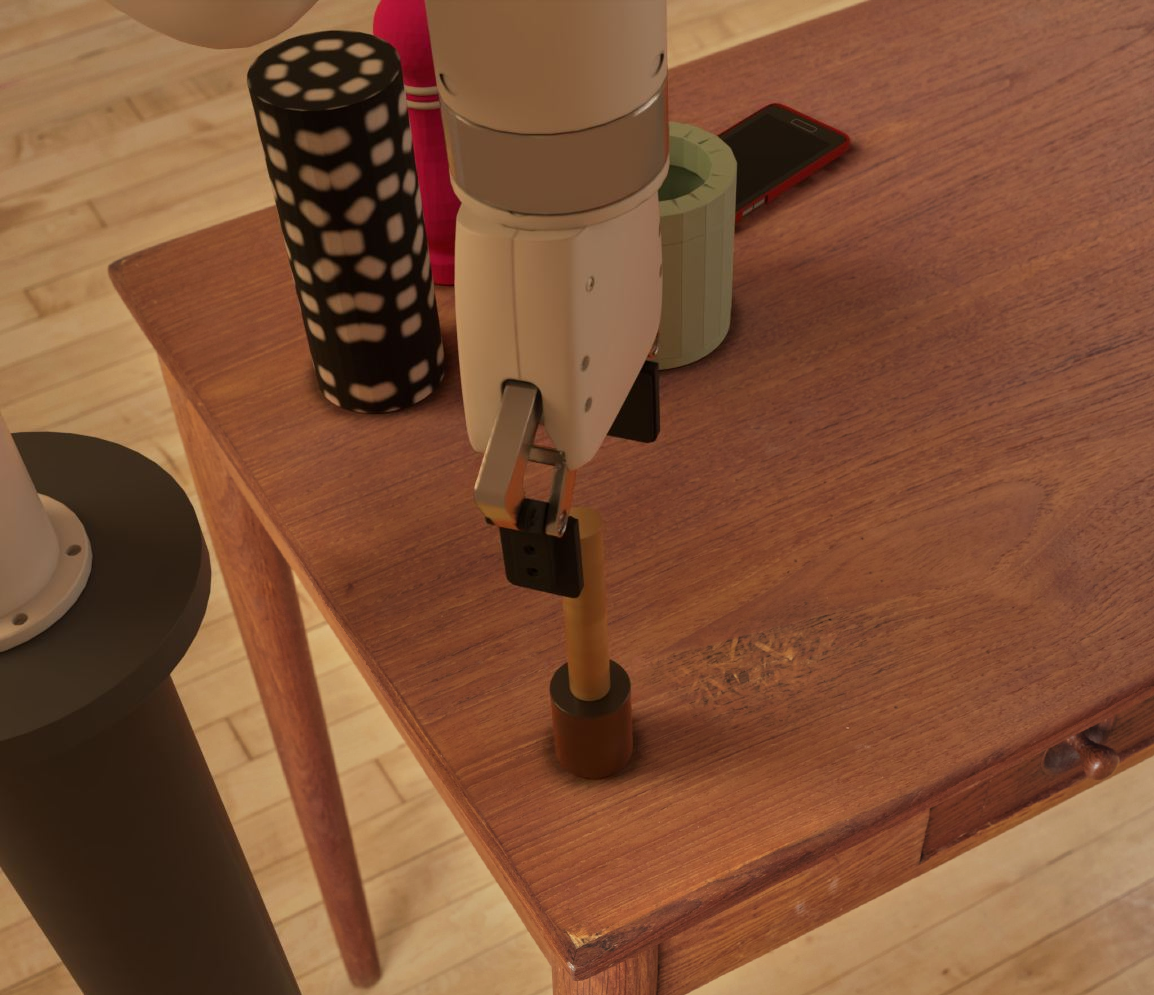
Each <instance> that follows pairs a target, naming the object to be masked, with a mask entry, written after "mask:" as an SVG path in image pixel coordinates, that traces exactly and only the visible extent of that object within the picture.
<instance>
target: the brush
mask: <svg viewBox="0 0 1154 995" xmlns="http://www.w3.org/2000/svg"><path fill="white" fill-rule="evenodd" d="M569 516H572V517H574V518H576V519H578V520H579V532H580V543H581V555H582V566H583V578H584V587H583V589H582V591H581V593H580V595H579V597H577V598H569V597H564V596H561V598H562V599H561V600H562V610H563V621H564V622H563V623H564V636H565V648H566V659H567V661H566V662H565V663H563V664H562V665H561V666H559V667H558V669H556V670H555V672H554V673H553V675H552V676H551V679H550V682H549V688H548V689H549V699H550V710H551V718H552V719H551V720H552V730H553V739H554V750H555V755H556V759H557V760H558V762H559V764H560V765H561V766H562V768H564V770H566V771H567V772H569V773H570V774H572V775H574V776H576V777H579V778H582V779H591V780H597V779H603V778H608V777H611V776H612V775H614V774H616V773H618V772H620V771H621V770H622V769H624V767H625V766H626V765H627V764H628V763H629V761H630V760H631V758H632V755H633V751H634V750H633V748H634V745H633V744H634V742H633V740H634V739H633V711H632V710H633V706H632V704H633V702H632V683H631V678H630V676H629V674H628V673H627V671H626V670H625V668H624V667H623V666H622V665H620V664H619V663H618V662H616V661H614V659H613V660H612V659H610V646H609V645H610V644H609V624H608V603H607V585H606V584H607V582H606V564H605V563H606V560H605V541H604V539H605V538H604V524H603V523H604V521H603V518H602V516H601V514H600V513H599V512H598V511H597V510H595V509H593V508H592V507H588V506H574V507H570V512H569Z"/></svg>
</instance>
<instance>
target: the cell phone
mask: <svg viewBox="0 0 1154 995" xmlns="http://www.w3.org/2000/svg"><path fill="white" fill-rule="evenodd" d="M716 136H718V137H719V138H720V139H721V140H722V141H723V142H724V143H726V144H727V145H728V146H729V147H730V148H731V150H732V152H733V155H734V157H735V159H736V162H737V178H736V203H735V224H737V223H738V222H740V221H741V220H742V219H743V218H745V217H746V216H748V215H749V214H751V213H752V212H754V211H755V210H756V209H759V208H760V207H762V205H765V204H768V203H770V202H772V201H773V200H774V199H776V198H778V197H779V196H781V195H782V194H785V192H787V191H788V190H790V189H791V188H793V187H795V186H796V185H798V184H799V183H801V182H802V181H804V180H806V179H807V178H808V177H810V176H812V175H814V174H815V173H816V172H818V171H819V170H821V169H822V168H824V167H825V166H827V165H829V164H830V163H832V162H833V161H835V160H836V159H838V158H839V157H841V156H842V155H843V154H845V153H846V152H847V151H848V150H849V149H850V145H851V138H850V136H849V135H848V134H847V133H845V132H843V131H842V130H839V129H838V128H836V127H833V126H831V125H829V124H827V123H824V122H822V121H820V120H818V119H816V118H814V117H812V116H809V115H807V114H805V113H803V112H800V111H799V110H796V109H795V108H792V107H790V106H788V105H786V104H782V103H779V102H772V103H769V104H767V105H765V106H763V107H761V108H759V109H758V110H756V111H755V112H753V113H751V114H750V115H748V116H746V117H745V118H743V119H742V120H739V121H738V122H736V123H735V124H733V125H732V126H730V127H728V128H727V129H725V130H723V131H722V132H720V133H718V134H716Z"/></svg>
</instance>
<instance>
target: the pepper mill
mask: <svg viewBox="0 0 1154 995" xmlns="http://www.w3.org/2000/svg"><path fill="white" fill-rule="evenodd" d="M372 35H374V36H376V37H379V38H381V39H383V40H385V41H387V42H388V43H390V44H391V45H392V46H393V47H394V48H395V49H396V50H397V52H398V54H399V56H400V59H401V66H402V73H403V80H404V86H405V93H406V100H407V107H408V113H409V120H410V127H411V134H412V141H413V147H414V154H415V161H416V168H417V174H418V181H419V188H420V195H421V201H422V208H423V215H424V222H425V228H426V235H427V242H428V249H429V255H430V262H431V269H432V276H433V282H434V285H444V286H452V285H455V239H456V220H457V214H458V211H459V209H460V206H461V204H462V202H461V201H460V200H459V198H458V197H457V196H456V194H455V193H454V190H453V187H452V185H451V180H450V173H449V165H448V159H447V152H446V145H445V138H444V131H443V124H442V117H441V110H440V103H439V97H438V90H437V83H436V76H435V69H434V62H433V55H432V48H431V41H430V34H429V27H428V20H427V13H426V6H425V0H379V2H378V4H377V5H376V8H375V11H374V13H373V21H372Z"/></svg>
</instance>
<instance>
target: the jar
mask: <svg viewBox="0 0 1154 995" xmlns="http://www.w3.org/2000/svg"><path fill="white" fill-rule="evenodd" d="M669 159H670V164H669V169H668V174H667V177H666V178H665V180H664V182H663V184H662V186H661V187H660V188H659V189H658V201H659V213H660V228H661V246H662V308H661V318H660V324H659V328H658V329H659V331H660V344H659V349H658V352H657V355H656V357H655V358H654V359H653V358H646V361H652V362H658V363H659V371H662V370H670V369H675V368H680V367H683V366H687V365H689V364H692V363H695V362H697V361H699V360H701V359H703V358H705V357H706V356H708V355H709V354H711V353H712V352H714V351H715V350H716V349H717V348H718V347H719V346H720V345H721V344H722V342H723V341H724V340H725V338H726V336H727V335H728V332H729V330H730V326H731V313H732V302H733V298H732V297H733V278H734V277H733V276H734V275H733V274H734V252H735V251H734V250H735V229H736V228H735V227H736V226H735V225H736V223H735V203H736V178H737V162H736V159H735V157H734V155H733V152H732V150H731V148H730V147H729V146H728V145H727V144H726V143H724V142H723V141H722V140H721V139H720V138H719V137H718V136H717V134H714V133H712V132H709V131H707V130H705V129H703V128H700V127H698V126H696V125H693V124H692V125H691V124H687V123H683V122H677V121H669Z"/></svg>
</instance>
